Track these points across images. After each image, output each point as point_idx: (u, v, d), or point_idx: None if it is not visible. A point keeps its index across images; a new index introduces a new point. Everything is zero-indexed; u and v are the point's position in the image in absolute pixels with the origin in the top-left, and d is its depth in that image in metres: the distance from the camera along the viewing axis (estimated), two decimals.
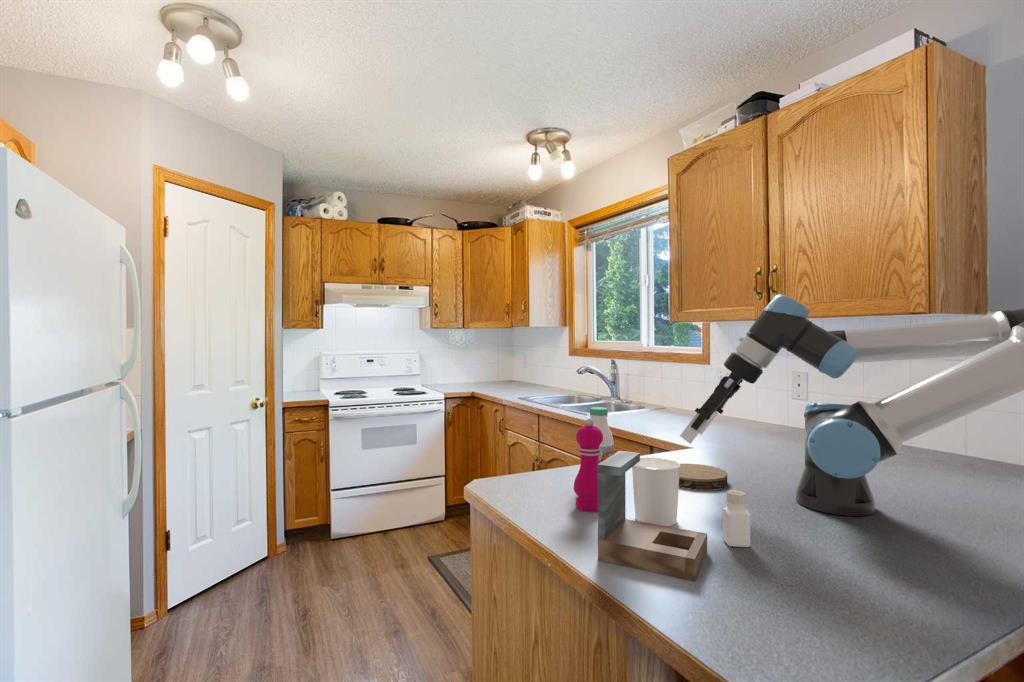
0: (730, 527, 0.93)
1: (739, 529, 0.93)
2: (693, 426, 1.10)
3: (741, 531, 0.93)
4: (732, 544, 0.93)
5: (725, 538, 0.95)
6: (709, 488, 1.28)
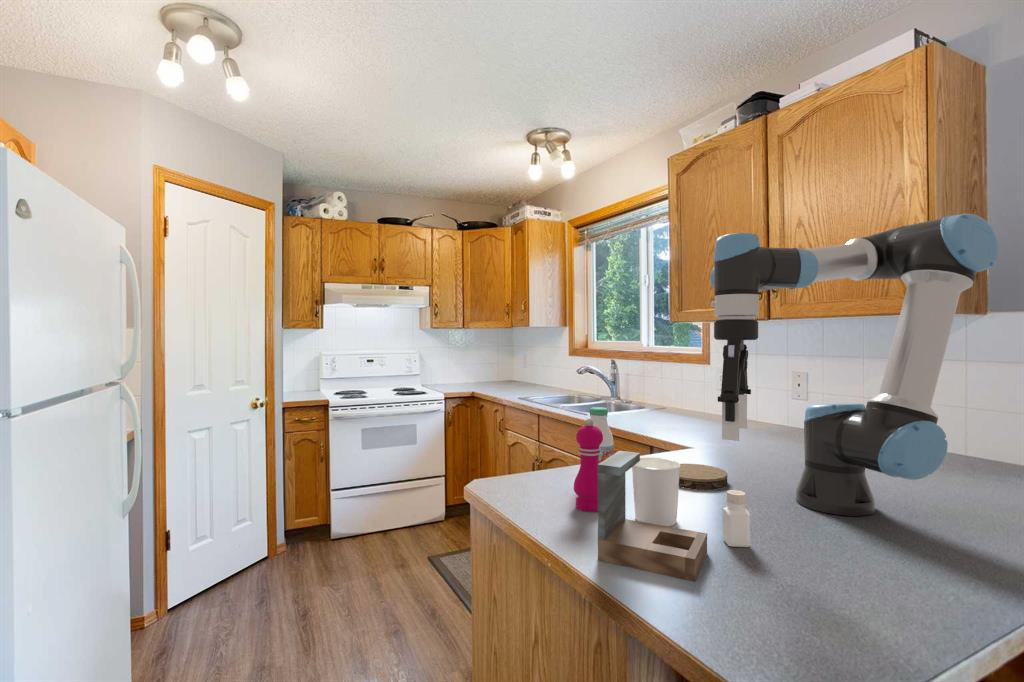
0: (730, 527, 0.93)
1: (739, 529, 0.93)
2: (728, 418, 0.88)
3: (741, 531, 0.93)
4: (732, 544, 0.93)
5: (725, 538, 0.95)
6: (709, 488, 1.28)
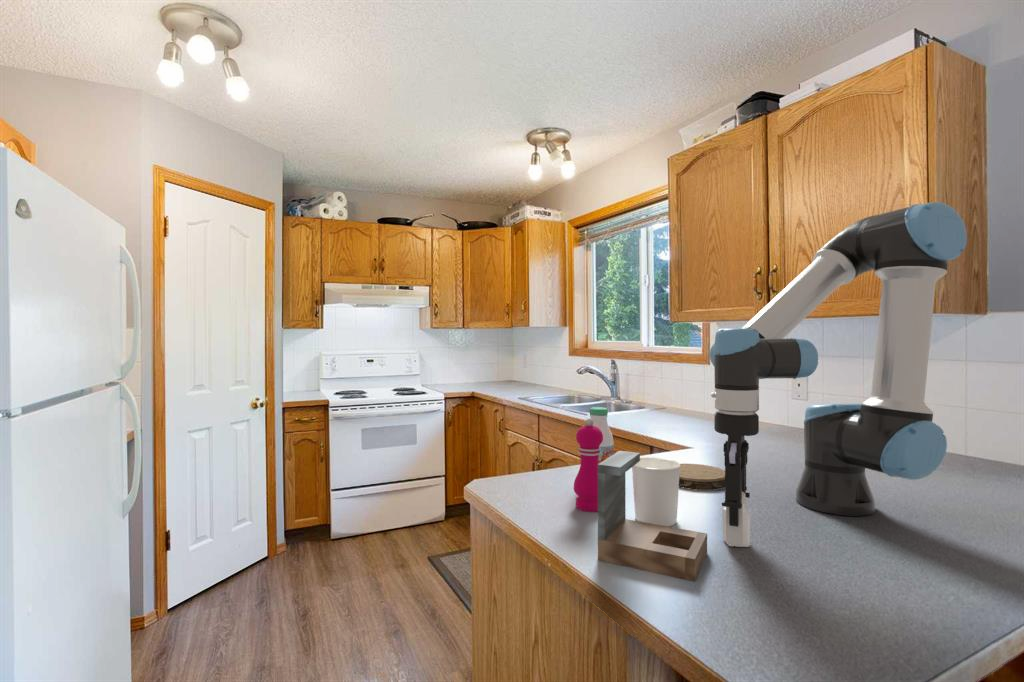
0: None
1: None
2: (732, 523, 0.91)
3: None
4: (732, 544, 0.93)
5: (725, 538, 0.95)
6: (709, 488, 1.28)
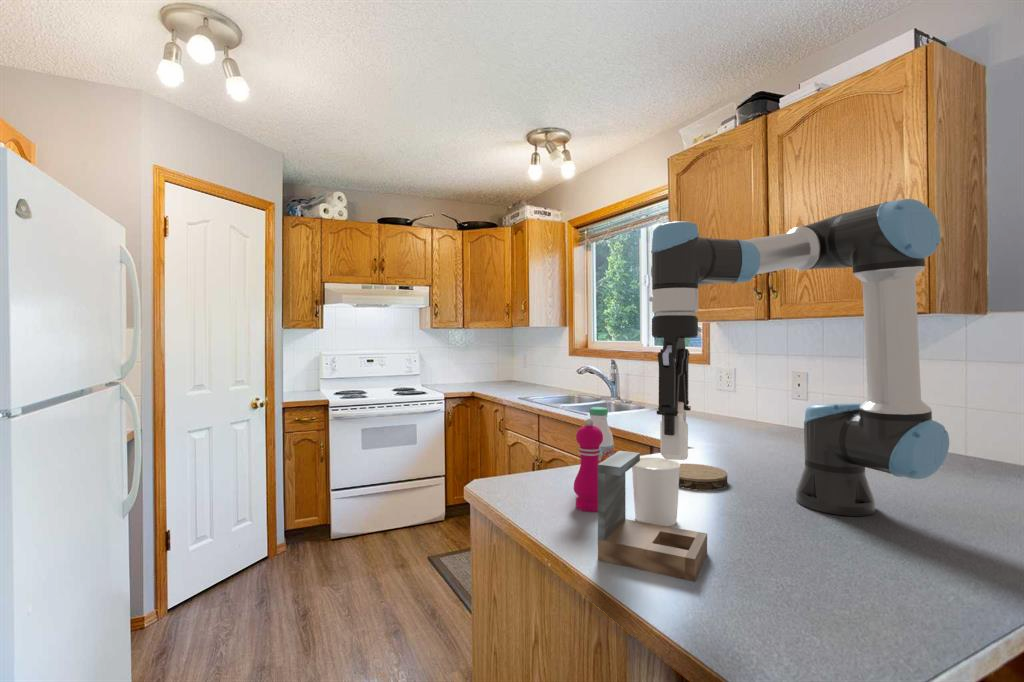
0: None
1: None
2: (667, 432, 0.84)
3: None
4: (668, 456, 0.86)
5: None
6: (709, 488, 1.28)
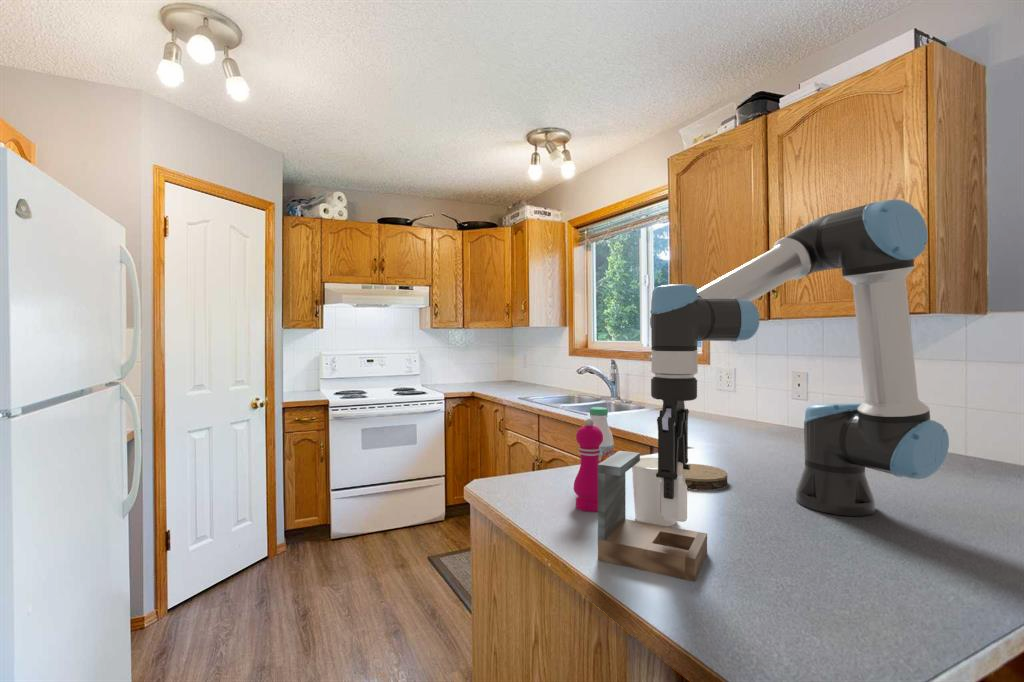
0: None
1: None
2: (666, 496, 0.84)
3: None
4: (668, 518, 0.86)
5: None
6: (709, 488, 1.28)
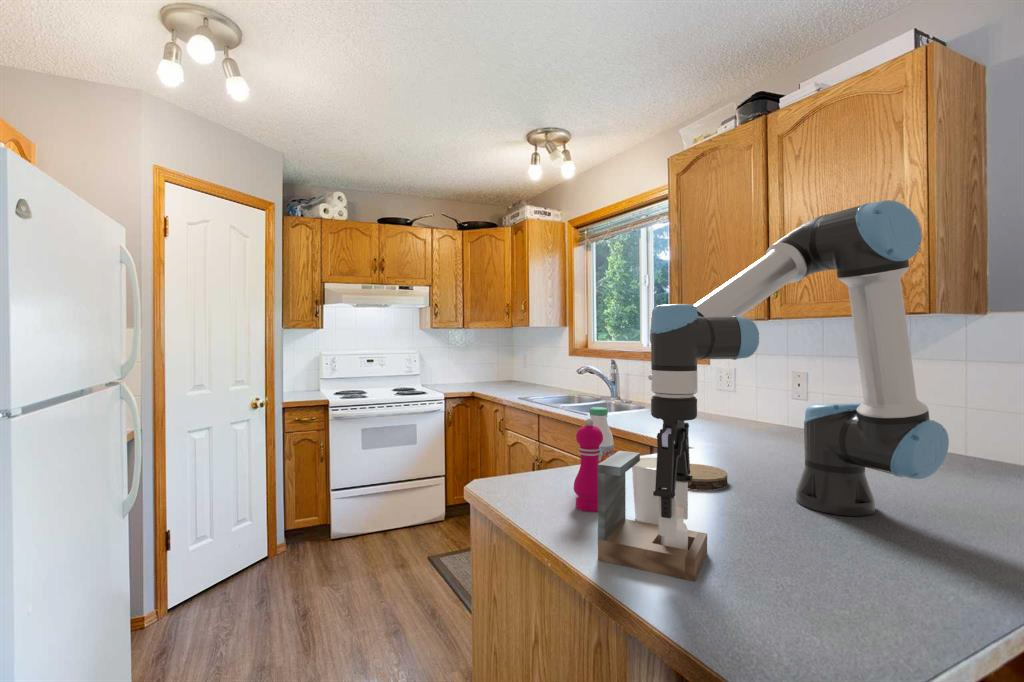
0: (666, 543, 0.86)
1: (676, 545, 0.86)
2: (664, 515, 0.83)
3: (678, 547, 0.86)
4: None
5: None
6: (709, 488, 1.28)
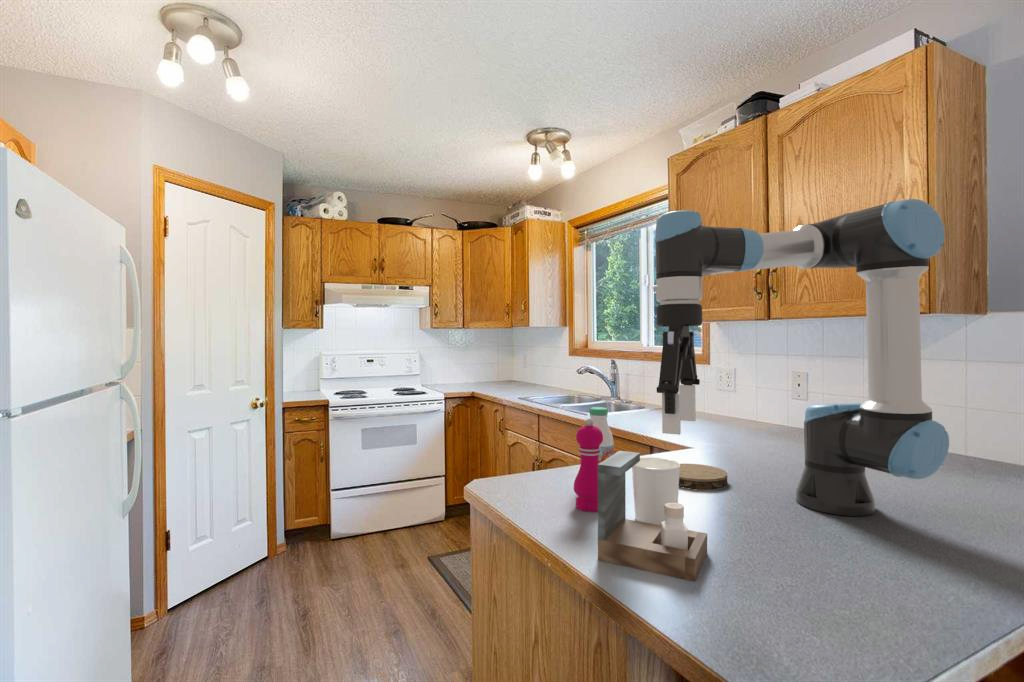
0: (666, 543, 0.86)
1: (675, 545, 0.86)
2: (667, 411, 0.81)
3: (678, 547, 0.86)
4: None
5: None
6: (709, 488, 1.28)
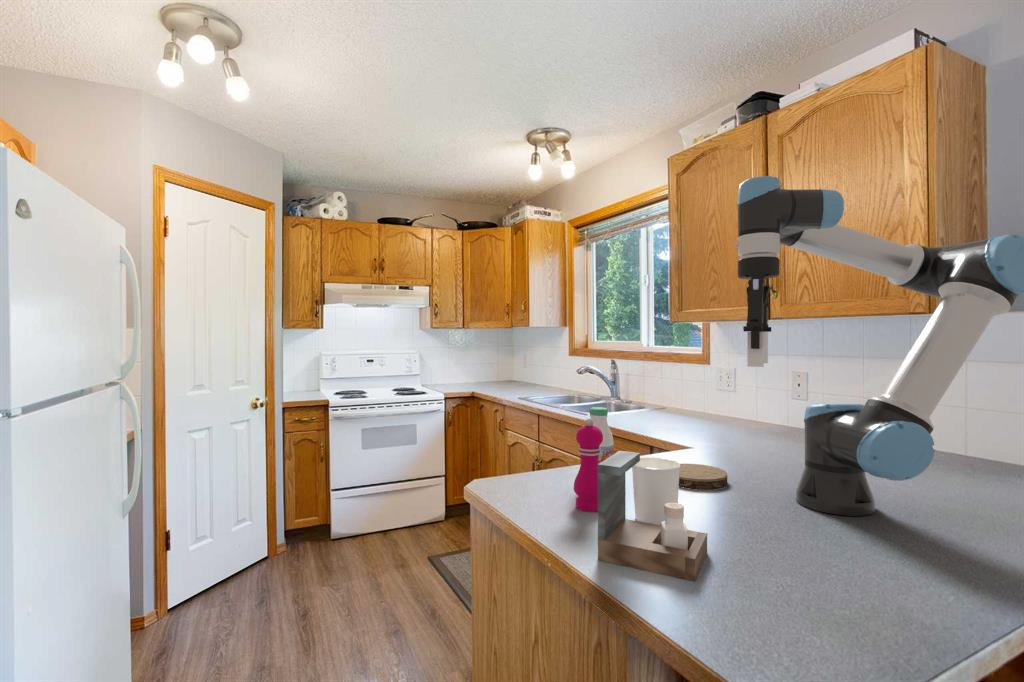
0: (666, 543, 0.86)
1: (675, 545, 0.86)
2: (753, 346, 0.95)
3: (678, 547, 0.86)
4: None
5: None
6: (709, 488, 1.28)
